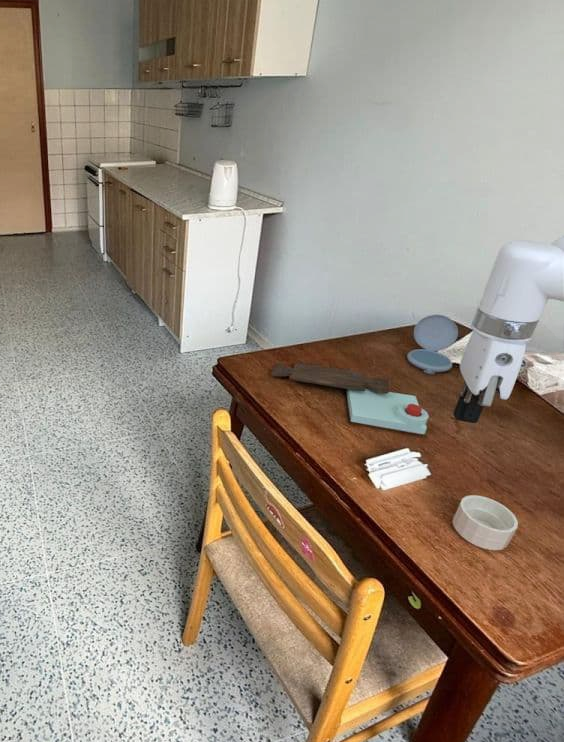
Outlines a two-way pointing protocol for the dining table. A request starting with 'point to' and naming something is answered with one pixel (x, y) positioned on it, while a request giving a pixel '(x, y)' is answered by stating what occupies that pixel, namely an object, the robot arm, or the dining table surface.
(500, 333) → the robot arm
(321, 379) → the dark wooden board
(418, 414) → the tare button
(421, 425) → the scale
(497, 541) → the bowl
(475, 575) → the dining table surface
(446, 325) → the open compact mirror
